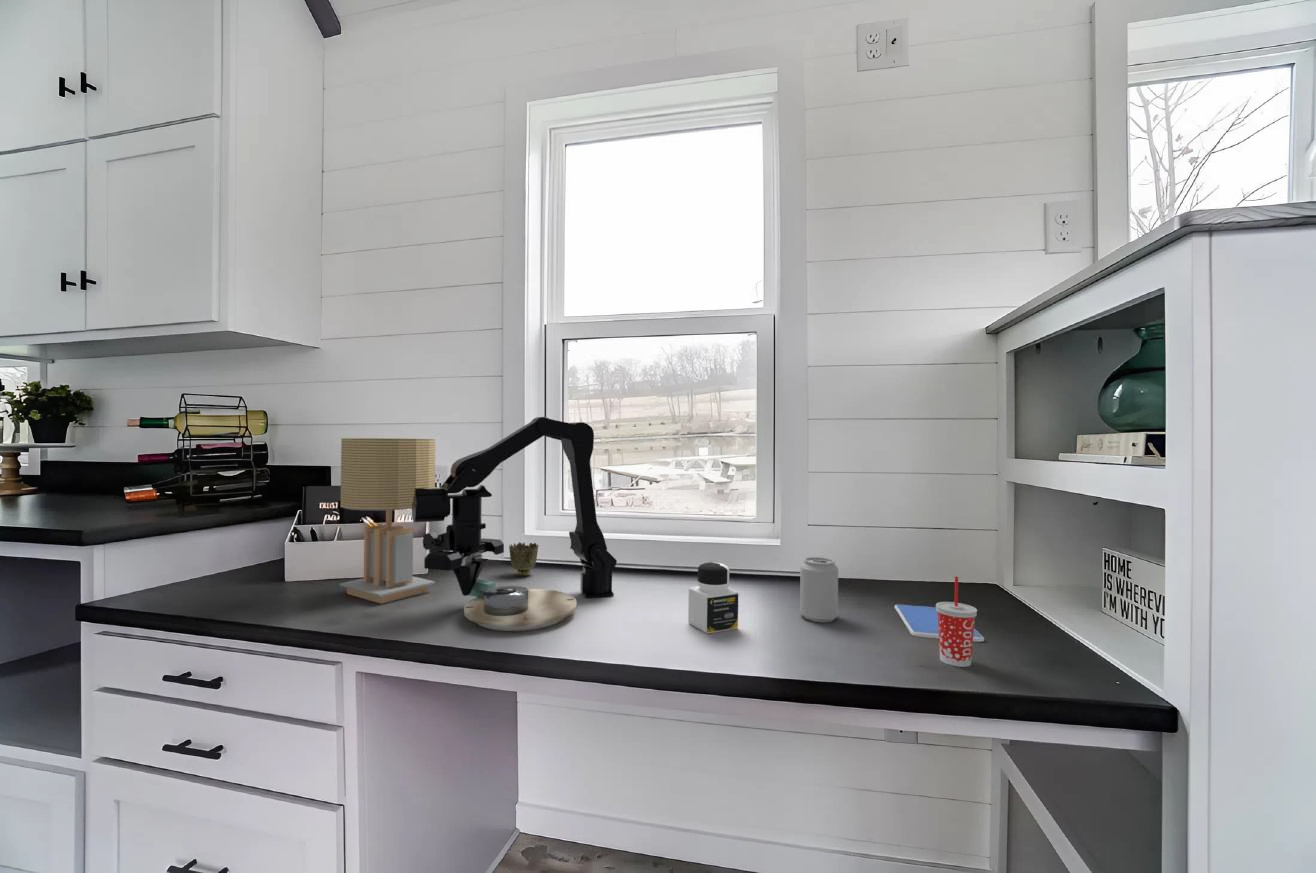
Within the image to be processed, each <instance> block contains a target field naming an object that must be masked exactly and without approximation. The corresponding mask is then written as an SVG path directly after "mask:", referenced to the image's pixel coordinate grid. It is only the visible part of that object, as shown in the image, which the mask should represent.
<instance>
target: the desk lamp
mask: <svg viewBox="0 0 1316 873" xmlns="http://www.w3.org/2000/svg"><path fill="white" fill-rule="evenodd" d="M340 444H341V445H340V446H341V447H340V450H341V451H340V453H341V454H340V506H339V507H340V508H342V509H346V510H351V511H385V524H377V525H371V526H364V532H363V533H364V534H363V536H364V537H363V539H364V540H363V578H360V579H359V578H358V579H354V580H350V581H344V582H341V583H339V586H340V587H343V588H346V594H347V595H351V596H354V597H356V598H360V599H364V600H366V601H371V602H375V603H377V604H382V605H383V604H385V603H386V604H387V603H390V602H394V601H399V600H401V599H405V598H406V599H407V598H410V597H414V596H417V595H420V594H425V593H428V592H429V586H431V585H435V584H436V581H434V580H430V579H426V578H421V577H419V576H418V577H417V576H413V571H414V570H413V569H414V567H413V565H414V563H413V562H414V556H413V555H414V527H406V528H404V526H403V525H393V511H398V510H399V511H400V510H410V509H411V510H412V503H413V498H414V489H415V488H426V489H428V488H436V483H435V482H436V479H435V478H436V439H435V438H434V439H433V438H432V439H431V438H384V437H383V438H379V437H377V438H374V437H373V438H372V437H370V438H367V437H364V438H363V437H362V438H359V437H358V438H357V437H355V438H354V437H351V438H350V437H348V438H345V437H344V438H341V443H340Z"/></svg>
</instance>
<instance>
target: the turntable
mask: <svg viewBox="0 0 1316 873" xmlns="http://www.w3.org/2000/svg"><path fill="white" fill-rule="evenodd" d="M494 587H496V582H494V581H490V580H483V579H479V578H477V580H476V582H475V584H474V586H473V589H472V591H471V593H470V595H469V597H470V596H471V597H475V598H473V599H470V600H469V601H468V602H466V603H465V604H464V607H463V614H464V617H465V618H467V620H469V621H471V622H474V623H475V624H477V623H480V624H485V625H492V626H529V625H537V624H543V623H548V622H552V621H556V620H559V619H562V618H564V619H566V618H567V617H569V616H570V615H571V614H573V613H575V611H576V610H577V603H578V602H577V599H576V598H575V597H574V596H573V595H571V594H569V593H566V592H562V591H557V590H555V589H554V590H552V589H546V588H545V589H543V588H527V589H528V610H527V611H525V612H523V613H520V614H516V615H510V616H493V615H488V614H486V613H484V592H485V591H486V590H488V589H490V588H494Z"/></svg>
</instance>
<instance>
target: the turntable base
mask: <svg viewBox="0 0 1316 873" xmlns="http://www.w3.org/2000/svg"><path fill="white" fill-rule="evenodd" d="M564 619H565V618H562V619H559V620H556V621H552V622H548V623H543V624H537V625H529V626H492V625H485V624H480V623H476V624H477V625H478V626H480V627H482V628H485V629H489V630H494V631H503V632H504V631H505V632H522V631H523V632H524V631H531V630H539V629H543V628H548V627H550V626H553V625H556V624H558V623H561V622H562V621H563V620H564Z"/></svg>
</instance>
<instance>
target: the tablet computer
mask: <svg viewBox="0 0 1316 873" xmlns="http://www.w3.org/2000/svg"><path fill="white" fill-rule="evenodd" d="M894 609H895V611H896V612H897V614H898V615H899V617H900V618H901V619H902V622H903V623H904V625H905V627H906V628H907V630H908V632H909V634H910V635H911V636H914V637H918V638H928V639H938V640H939V630H938V611H937V610H936V606H934V607H933V606H924V605H923V606H922V605H910V604H907V605H906V604H895V605H894ZM974 642H975V643H976V642H977V643H978V642H979V643H981V642H982V643H983V642H985V637H983V635H982V634H981V633H980V632H979V631H978V630H976V629H975V627H974V634H973V643H974Z"/></svg>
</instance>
